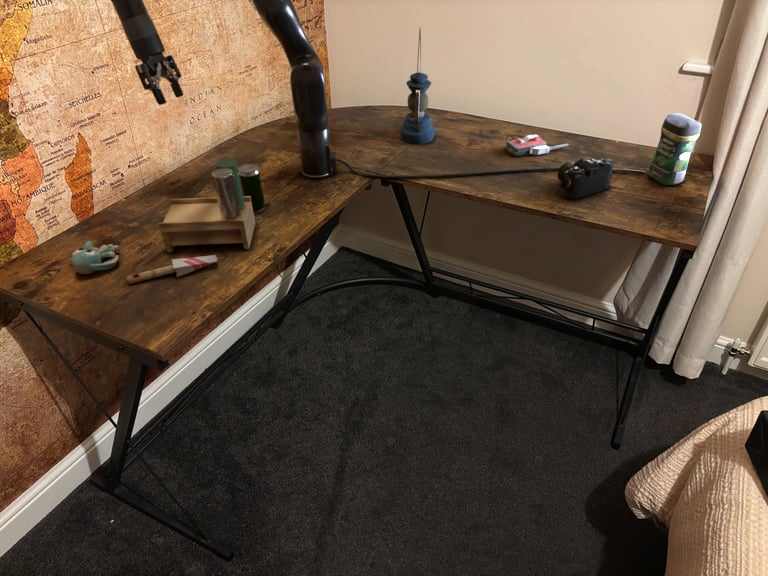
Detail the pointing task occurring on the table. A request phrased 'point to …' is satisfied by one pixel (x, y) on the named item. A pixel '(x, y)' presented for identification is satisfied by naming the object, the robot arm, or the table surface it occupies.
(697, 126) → the coffee jar
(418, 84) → the lantern
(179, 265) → the paintbrush
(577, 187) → the film camera
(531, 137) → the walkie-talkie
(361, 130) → the table surface
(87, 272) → the stuffed animal
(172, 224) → the tray
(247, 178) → the beer can
